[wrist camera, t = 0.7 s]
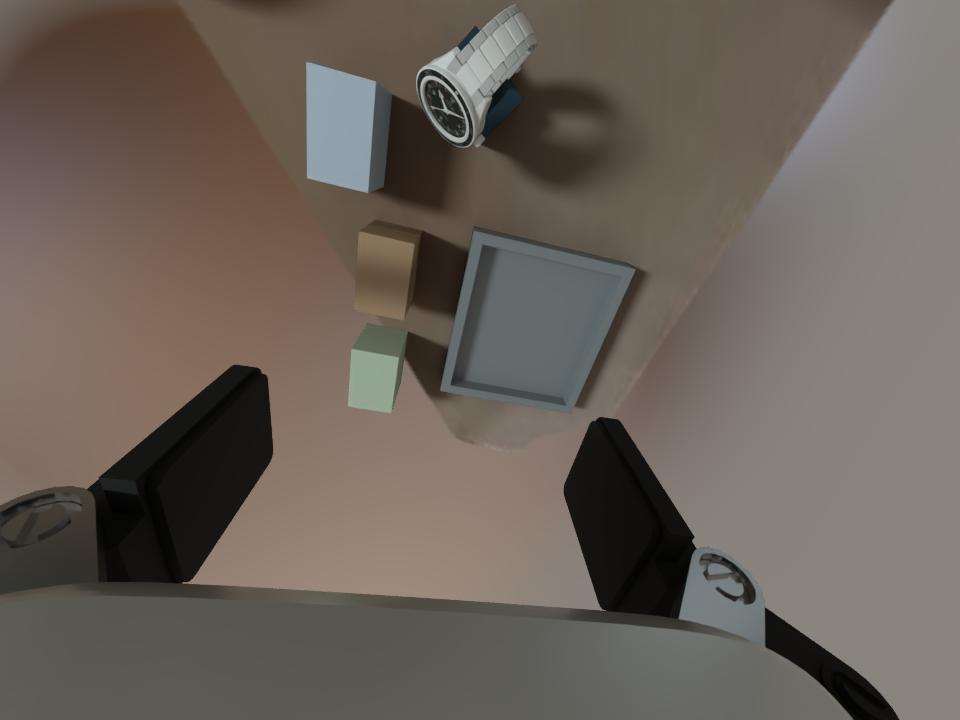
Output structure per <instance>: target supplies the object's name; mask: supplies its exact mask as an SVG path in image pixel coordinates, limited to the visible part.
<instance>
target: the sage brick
mask: <svg viewBox="0 0 960 720" xmlns="http://www.w3.org/2000/svg"><path fill="white" fill-rule="evenodd" d="M407 335H408V331H403V330H398V329H393V328H388V327H383V326H379V325H374V324H369V323H367V324H366V326H365V328H364V329H363V331H362V333H361V334H360V336H359V337H358V339H357V341H356V342H355V344H354V346H353V347H352V350H351V366H350V367H351V368H350V384H349V399H348V406H349V407H355V408H361V409H368V410H373V411H379V412H386V413H392V409H393V406H394V403H395V399H396V396H397V393H398V389H399V386H400V383H401V376H402V369H403V363H404V355H405V349H406V342H407Z"/></svg>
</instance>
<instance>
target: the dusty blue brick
mask: <svg viewBox="0 0 960 720" xmlns="http://www.w3.org/2000/svg"><path fill="white" fill-rule="evenodd" d="M391 103H392V94H391V93H390V92H389V91H387V90H386V89H385V88H383V87H382V86H381V85H380V84H378V83H377V82H375V81H372V80H368V79H365V78H361V77H358V76H354V75H351V74H347V73H344V72H340V71H337V70H333V69H330V68H326V67H323V66H319V65H316V64H312V63H309V62H307V178H308V179H313V180H317V181H321V182H325V183H329V184H333V185H337V186H341V187H346V188H350V189H354V190H358V191H362V192H366V193H369V192H372V191H374V190H377V189H380V188H382V187H384V181H385V170H386V159H387V147H388V136H389V125H390V114H391Z"/></svg>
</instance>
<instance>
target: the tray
mask: <svg viewBox="0 0 960 720" xmlns="http://www.w3.org/2000/svg"><path fill="white" fill-rule="evenodd" d="M635 270H636V269H635V268H633V267H632V266H630V265H629V264H627V263H625V262H621V261H617V260H613V259H608V258H604V257H600V256H596V255H592V254H588V253H583V252H579V251H575V250H571V249H567V248H563V247H558V246H554V245H550V244H546V243H542V242H538V241H533V240H529V239H525V238H521V237H517V236H512V235H508V234H504V233H500V232H496V231H492V230H487V229H483V228H479V227H475V226H474V229H473V233H472V238H471V243H470V248H469V252H468V257H467V262H466V266H465V271H464V276H463V281H462V285H461V290H460V295H459V299H458V304H457V309H456V313H455V318H454V323H453V328H452V332H451V337H450V342H449V346H448V351H447V356H446V361H445V365H444V370H443V375H442V379H441V387H440V391H443V392H449V393H454V394H460V395H466V396H472V397H477V398H483V399H489V400H495V401H500V402H506V403H512V404H518V405H524V406H529V407H535V408H541V409H547V410H552V411H558V412H564V413H570V414H571V413H572V410H573V408H574V406H575V404H576V401H577V399H578V397H579V395H580V393H581V390H582V388H583V386H584V384H585V381H586V379H587V377H588V375H589V373H590V370H591V368H592V366H593V364H594V361H595V359H596V357H597V355H598V353H599V350H600V348H601V346H602V344H603V341H604V339H605V337H606V335H607V332H608V330H609V328H610V326H611V324H612V321H613V319H614V317H615V315H616V312H617V310H618V308H619V306H620V304H621V301H622V299H623V297H624V295H625V292H626V290H627V288H628V286H629V284H630V281H631V279H632V277H633V275H634V272H635Z"/></svg>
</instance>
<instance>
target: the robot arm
mask: <svg viewBox="0 0 960 720" xmlns="http://www.w3.org/2000/svg"><path fill="white" fill-rule="evenodd" d="M272 455H273V440H272V427H271V415H270V402H269V388H268V378H267V375H265V374H262V373H261V370H260V369H259V368H256V367H248V366H242V365H233V366H231V367H230V368H229V369H228V370H226V371H225V372H224V373H223V374H222V375H221V376H219V377H218V378H217V379H216V380H215V381H213V382H212V383H211V384H210V385H209V386H207V387H206V388H205V389H204V390H203V391H201V392H200V393H199V394H198V395H197V396H195V397H194V398H193V399H192V400H191V401H189V402H188V403H187V404H186V405H185V406H183V407H182V408H181V409H180V410H179V411H178V412H176V413H175V414H174V415H173V416H172V417H171V418H169V419H168V420H167V421H166V422H164V423H163V424H162V425H161V426H160V427H159V428H157V429H156V430H155V431H154V432H152V433H151V434H150V435H149V436H148V437H146V438H145V439H144V440H143V441H142V442H141V443H139V444H138V445H137V446H136V447H135V448H133V449H132V450H131V451H130V452H129V453H128V454H126V455H125V456H124V457H123V458H121V459H120V460H119V461H118V462H117V463H116V464H114V465H113V466H112V467H111V468H110V469H108V470H107V471H106V472H105V473H104V474H102V475H101V476H100V477H99V479H98V480H97V481H96V482H95V483H94V484H93V485H91V486H90V487H89V488H88V489H87V490H86V489H84V488H80V487H74V486H65V487H53V488H48V489H43V490H38V491H35V492H32V493H29V494H26V495H23V496H20V497H17V498H15V499H13V500H11V501H9V502H7V503H4V504H2V505H0V720H899V718H898V717H897V715H896V713H895V712H894V710H893V709H892V707H891V706H890V705H889V704H888V702H887V701H886V700H885V699H884V697H883V696H882V695H881V694H880V693H879V692H878V691H877V690H876V689H875V688H874V687H873V686H872V685H871V684H870V683H869V682H868V681H867V680H866V679H865V678H864V677H862V676H861V675H860V674H859V673H857V672H856V671H855V670H854V669H852V668H851V667H849V666H848V665H847V664H845V663H844V662H842V661H841V660H840V659H838V658H837V657H835V656H834V655H832V654H831V653H830V652H828V651H827V650H825V649H824V648H822V647H821V646H820V645H818V644H817V643H815V642H814V641H812V640H811V639H809V638H808V637H807V636H805V635H804V634H802V633H801V632H800V631H798V630H797V629H795V628H794V627H792V626H791V625H790V624H788V623H786V622H785V621H784V620H782V619H781V618H780V617H778V616H777V615H775V614H774V613H772V612H771V611H769V610H768V609H767V608H765V601H764V597H763V592H762V590H761V588H760V587H759V585H758V583H757V581H756V580H755V579H754V577H752V575H751V574H750V572H748V570H747V569H745V568H744V567H743V566H742V565H741V564H740V563H739V562H737V561H736V560H735V559H733V558H732V557H731V556H729V555H727V554H725V553H723V552H721V551H719V550H717V549H713V548H710V547H700V548H698V549H696V547H695V545H694V544H693V543H692V540H693V538H694V535H693V534H692V532H691V531H690V529H689V528H688V526H687V524H686V523H685V521H684V520H683V518H682V517H681V515H680V514H679V512H678V510H677V509H676V507H675V506H674V504H673V503H672V501H671V499H670V498H669V496H668V495H667V493H666V492H665V490H664V489H663V487H662V486H661V484H660V482H659V481H658V479H657V478H656V476H655V475H654V473H653V472H652V470H651V468H650V467H649V465H648V464H647V462H646V461H645V459H644V457H643V456H642V455H641V453H640V451H639V450H638V448H637V447H636V445H635V443H634V442H633V440H632V439H631V437H630V436H629V434H628V433H627V431H626V429H625V428H624V426H623V425H622V423H621V422H620V421H619V420H617V419H611V418H604V417H599V418H598V419H597V420H596V421H592V422H591V423H590V425H589V427H588V430H587V432H586V434H585V437H584V439H583V442H582V444H581V446H580V449H579V451H578V453H577V456H576V458H575V460H574V463H573V465H572V468H571V470H570V472H569V475H568V477H567V479H566V482H565V484H564V496H565V500H566V503H567V506H568V509H569V512H570V515H571V518H572V521H573V524H574V528H575V531H576V534H577V537H578V540H579V543H580V546H581V550H582V553H583V556H584V559H585V562H586V565H587V568H588V571H589V575H590V578H591V580H592V584H593V587H594V590H595V593H596V596H597V600H598V603H599V605H600V607H601V608H602V609H603V610H606V611H599V610H586V609H585V610H584V609H572V608H558V607H544V606H531V605H517V604H504V603H503V604H502V603H490V602H474V601H460V600H445V599H430V598H416V597H401V596H400V597H399V596H385V595H370V594H354V593H339V592H338V593H337V592H322V591H306V590H290V589H273V588H256V587H240V586H221V585H197V584H182V583H183V582H189V581H190V580H191V579H193V577H194V576H195V575H196V573H197V572H198V570H199V569H200V567H201V566H202V564H203V563H204V561H205V560H206V558H207V557H208V555H209V554H210V552H211V551H212V549H213V548H214V546H215V545H216V543H217V541H218V540H219V539H220V537H221V536H222V534H223V533H224V531H225V530H226V528H227V526H228V525H229V523H230V522H231V521H232V519H233V517H234V516H235V514H236V513H237V512H238V510H239V508H240V507H241V505H242V504H243V502H244V501H245V499H246V498H247V496H248V495H249V493H250V492H251V490H252V489H253V487H254V486H255V484H256V483H257V481H258V480H259V478H260V477H261V475H262V474H263V472H264V471H265V469H266V468H267V466H268V465H269V463H270V461H271V458H272Z"/></svg>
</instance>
